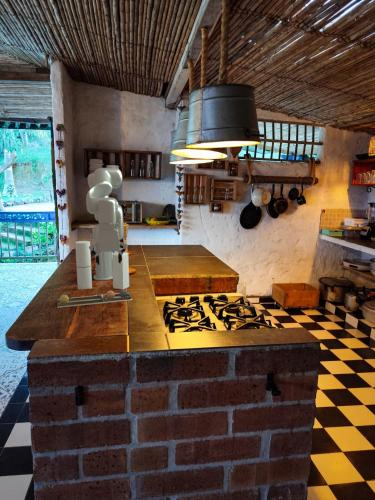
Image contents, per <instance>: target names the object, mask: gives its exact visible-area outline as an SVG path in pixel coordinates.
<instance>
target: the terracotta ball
mask: <svg viewBox="0 0 375 500" xmlns="http://www.w3.org/2000/svg"><path fill="white" fill-rule="evenodd" d="M105 294H106V297H107V298H114V296H115V294H116V293H115V292H114V291H113V290H108V291H107V292H106V293H105Z"/></svg>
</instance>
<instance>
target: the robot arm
mask: <svg viewBox="0 0 375 500" xmlns="http://www.w3.org/2000/svg"><path fill="white" fill-rule="evenodd" d="M122 182H123V174H122V171H121V170H120V169H119V168H116V167H115V168H114V167H111V168H110V167H99V168H97V169H95V170H94V172H91V173H90V174H88V176H87V183H88V187H89V190H88V191H87V194H86V198H85V200H86V201H85V202H86V203H85V205H86V210H87V212H88V213H89V214H91V215H93V216H94V219H95V221H97V222H98V223H97V224H95V225H94V226H93V227H92V231H91V232H92V237H93V242H94V243H93V244H90V246H89V249H90V253H92V254H93V255H94V261H95V264H94V265H95V274H94V275H92V279H94V280H95V281H110V280H113V263H112V254H113V252H115V251H117V252H118V253H119V254H118V262H119V263H121V261H122V254H123V253H124V252H127V251H126V249H127V248H128V244H127V243H125V242H122V241H121V240H123V239H124V235H125V230H124V212H123V208H122V206H121V205H120V204H119V202H118V200H117V199H116V198H114V197H109V195H110V194H111V193H112V191H113V190H115V189H119V188H120V187H121V185H122ZM121 246H122V247H123V249H122V250H121V251H120V248H121Z"/></svg>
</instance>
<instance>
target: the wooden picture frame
mask: <svg viewBox="0 0 375 500" xmlns="http://www.w3.org/2000/svg"><path fill="white" fill-rule="evenodd" d="M98 295H99V296H95V295H88V296H89V297H85V296H77V297H78V298H74V297H69V301H77V302H67V303H59V302H60V298H57V302H56V306H57V307H58V306H68V305H78V304H88V303H98V302H103V298H102V295H103V294H98ZM98 298H100V299H98ZM88 299H98V300H88ZM78 300H87V301H78ZM98 304H99V303H98ZM88 305H89V304H88Z"/></svg>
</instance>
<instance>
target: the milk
mask: <svg viewBox="0 0 375 500" xmlns="http://www.w3.org/2000/svg"><path fill="white" fill-rule="evenodd" d="M122 249H123V248H122V247H120V251H121V250H122ZM118 254H119V253H118V252H117V251H113V252H112V271H113V279H112V285H113V289H118V290H123V289H125V290H126V289H127V288H129V287H130V270H129V263H130V262H129V253H128V252H127V251H125V252H124V253H123V254H122V261H121V263H119V262H118Z"/></svg>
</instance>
